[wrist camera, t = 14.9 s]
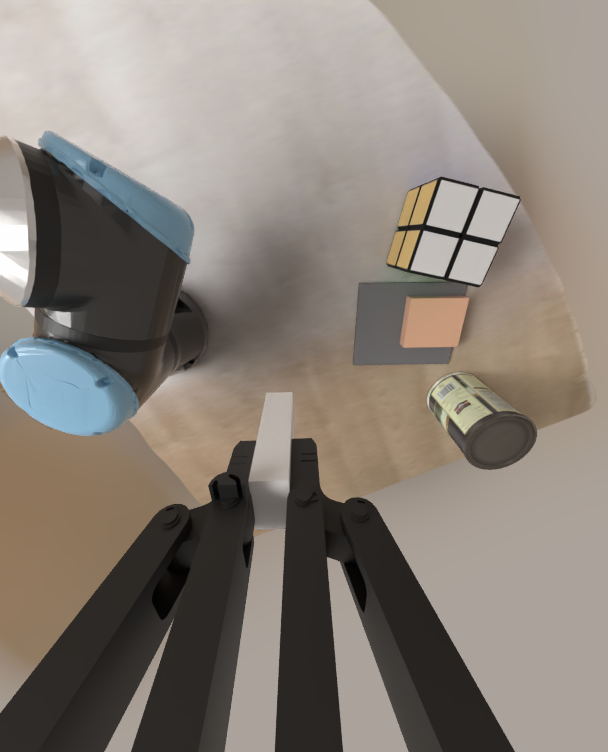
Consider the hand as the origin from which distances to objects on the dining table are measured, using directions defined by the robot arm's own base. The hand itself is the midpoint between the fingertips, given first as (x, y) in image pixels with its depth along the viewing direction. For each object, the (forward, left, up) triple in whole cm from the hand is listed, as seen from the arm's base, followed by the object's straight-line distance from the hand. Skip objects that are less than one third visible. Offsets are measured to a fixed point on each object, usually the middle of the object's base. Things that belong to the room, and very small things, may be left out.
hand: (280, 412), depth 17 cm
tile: (+18, -3, -31) cm, 36 cm away
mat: (+19, -4, -32) cm, 38 cm away
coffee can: (+30, -18, -33) cm, 48 cm away
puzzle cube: (+20, +9, -33) cm, 39 cm away
